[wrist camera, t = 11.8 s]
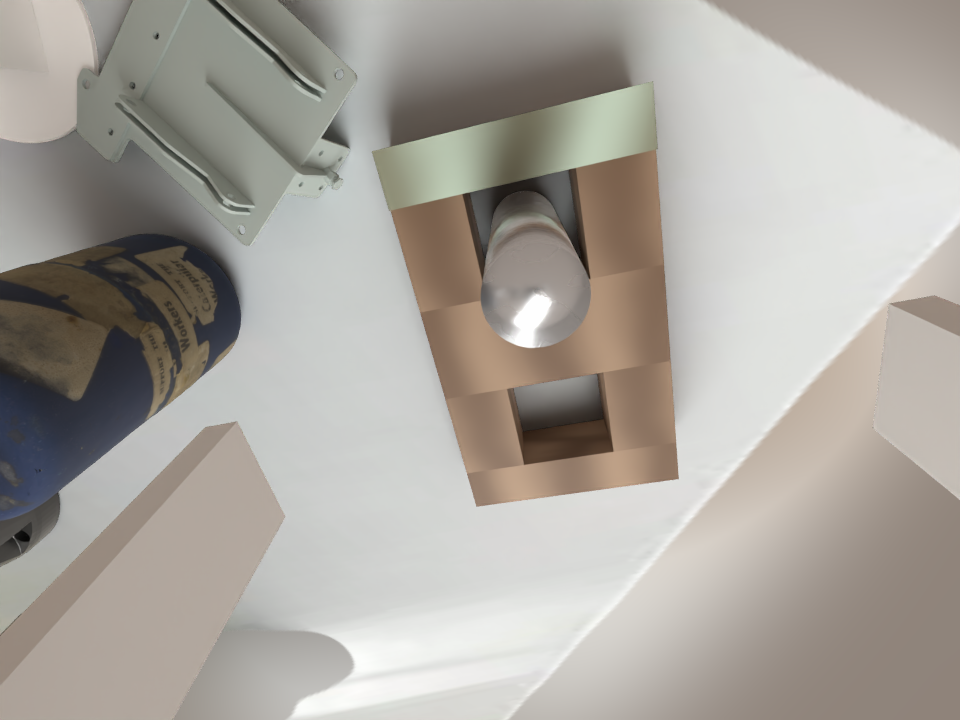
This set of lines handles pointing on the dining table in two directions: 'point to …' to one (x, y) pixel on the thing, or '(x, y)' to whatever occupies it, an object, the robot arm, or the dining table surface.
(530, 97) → the dining table surface
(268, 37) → the metal bracket
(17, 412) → the canister
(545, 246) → the steel pin
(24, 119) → the white upright piece
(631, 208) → the pin plate
